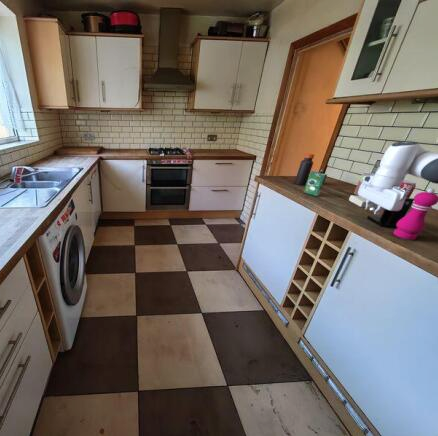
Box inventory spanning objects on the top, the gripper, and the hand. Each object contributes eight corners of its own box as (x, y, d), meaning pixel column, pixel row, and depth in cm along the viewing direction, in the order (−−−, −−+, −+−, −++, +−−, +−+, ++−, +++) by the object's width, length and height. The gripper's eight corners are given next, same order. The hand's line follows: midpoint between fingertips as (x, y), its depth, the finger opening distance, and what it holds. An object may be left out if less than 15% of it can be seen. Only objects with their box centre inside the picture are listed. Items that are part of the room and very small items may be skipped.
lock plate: (376, 202, 126) (378, 196, 125) (390, 209, 117) (393, 203, 116) (348, 200, 128) (350, 194, 127) (360, 206, 119) (363, 201, 118)
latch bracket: (381, 226, 98) (396, 199, 93) (366, 218, 106) (379, 192, 101) (412, 229, 97) (429, 201, 91) (395, 220, 105) (410, 194, 99)
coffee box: (319, 196, 133) (327, 174, 127) (316, 196, 132) (324, 174, 126) (305, 192, 140) (313, 170, 134) (302, 192, 138) (310, 171, 133)
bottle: (292, 182, 158) (301, 153, 149) (301, 182, 158) (310, 153, 150) (299, 185, 152) (309, 155, 143) (308, 185, 152) (318, 155, 144)
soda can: (393, 206, 121) (405, 183, 115) (382, 201, 127) (394, 179, 122) (408, 207, 120) (421, 184, 114) (397, 202, 126) (409, 180, 121)
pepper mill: (386, 231, 95) (412, 185, 86) (404, 232, 94) (431, 185, 86) (403, 240, 88) (433, 191, 79) (422, 241, 88) (454, 192, 79)
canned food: (382, 199, 131) (392, 179, 126) (358, 196, 134) (367, 176, 129) (372, 193, 141) (381, 174, 135) (350, 190, 144) (358, 172, 139)
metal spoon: (372, 215, 100) (370, 209, 99) (367, 212, 103) (365, 206, 102) (409, 203, 95) (408, 197, 94) (402, 201, 98) (401, 194, 97)
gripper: (417, 190, 85) (399, 223, 91) (376, 176, 103) (363, 204, 109) (398, 189, 86) (381, 221, 92) (361, 175, 104) (349, 203, 110)
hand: (371, 212), depth 101 cm, fingers closed on metal spoon, 3 cm apart
